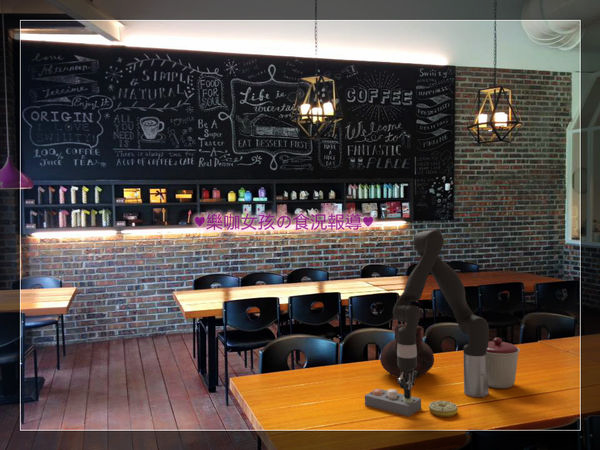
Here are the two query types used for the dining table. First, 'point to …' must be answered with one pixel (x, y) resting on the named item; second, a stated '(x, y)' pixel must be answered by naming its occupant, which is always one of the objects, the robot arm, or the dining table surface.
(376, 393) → the terracotta button
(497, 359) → the canister
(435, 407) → the decorated donut
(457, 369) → the dining table surface
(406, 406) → the block
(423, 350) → the jug
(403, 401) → the sage button
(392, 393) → the ivory button
